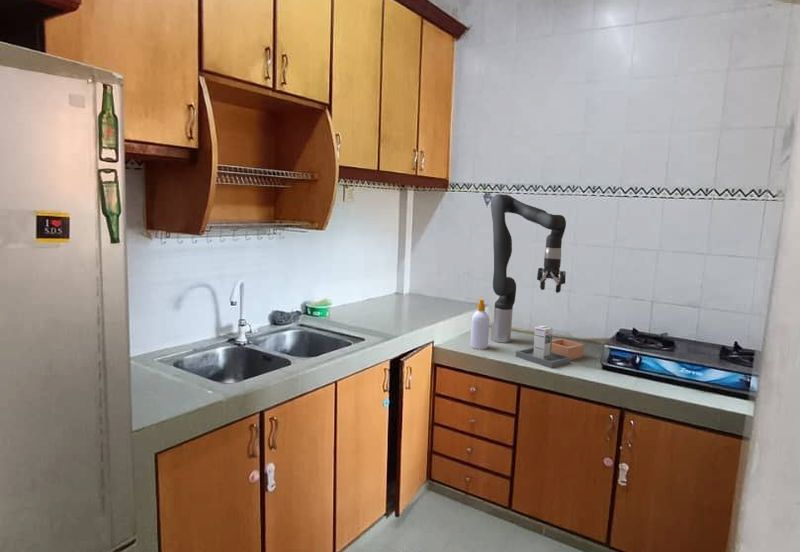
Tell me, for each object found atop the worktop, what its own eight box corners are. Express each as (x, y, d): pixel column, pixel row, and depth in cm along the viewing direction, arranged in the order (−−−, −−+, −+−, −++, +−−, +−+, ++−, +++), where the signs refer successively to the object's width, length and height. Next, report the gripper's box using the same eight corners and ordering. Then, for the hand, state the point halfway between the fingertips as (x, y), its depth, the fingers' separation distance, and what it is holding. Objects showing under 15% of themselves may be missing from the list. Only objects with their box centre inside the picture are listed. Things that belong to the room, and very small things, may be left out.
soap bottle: (487, 344, 263) (489, 298, 259) (488, 349, 253) (491, 301, 250) (469, 343, 263) (472, 297, 260) (470, 348, 254) (473, 300, 251)
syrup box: (543, 360, 236) (545, 329, 234) (532, 357, 241) (534, 326, 239) (550, 358, 240) (553, 327, 238) (540, 355, 244) (542, 325, 242)
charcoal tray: (515, 356, 244) (515, 351, 243) (534, 352, 252) (534, 346, 252) (551, 368, 228) (551, 362, 228) (570, 363, 237) (570, 357, 236)
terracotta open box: (544, 354, 249) (545, 341, 249) (560, 350, 257) (561, 338, 256) (567, 360, 240) (568, 348, 239) (582, 356, 247) (583, 344, 247)
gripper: (535, 256, 249) (532, 289, 252) (560, 259, 238) (558, 294, 240) (545, 255, 254) (542, 288, 256) (570, 258, 243) (567, 292, 245)
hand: (550, 291), depth 248 cm, fingers open, 8 cm apart
